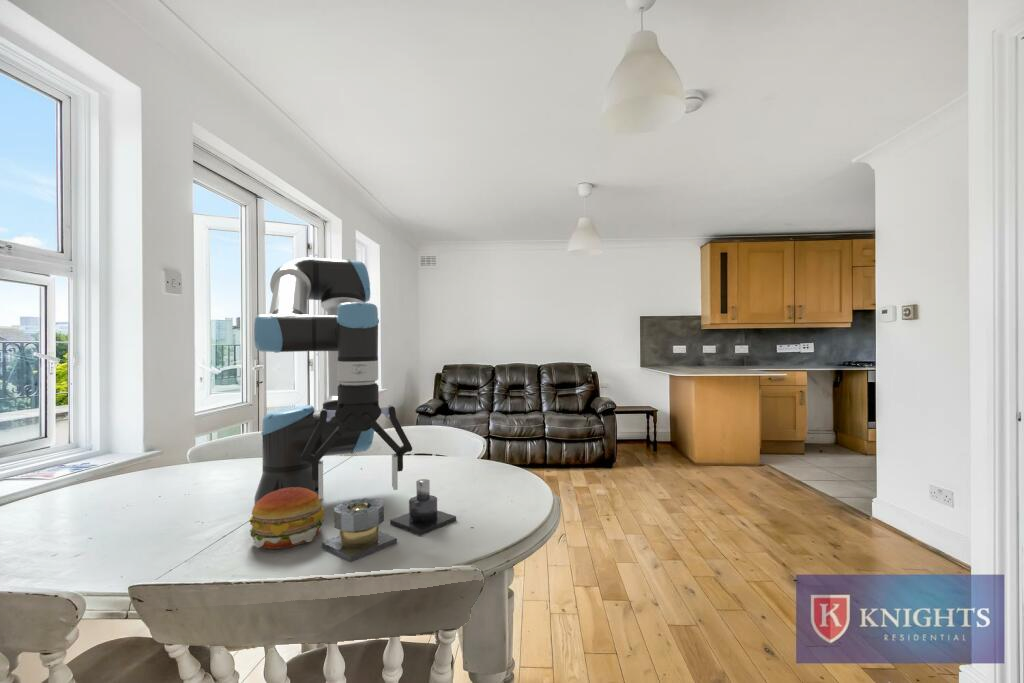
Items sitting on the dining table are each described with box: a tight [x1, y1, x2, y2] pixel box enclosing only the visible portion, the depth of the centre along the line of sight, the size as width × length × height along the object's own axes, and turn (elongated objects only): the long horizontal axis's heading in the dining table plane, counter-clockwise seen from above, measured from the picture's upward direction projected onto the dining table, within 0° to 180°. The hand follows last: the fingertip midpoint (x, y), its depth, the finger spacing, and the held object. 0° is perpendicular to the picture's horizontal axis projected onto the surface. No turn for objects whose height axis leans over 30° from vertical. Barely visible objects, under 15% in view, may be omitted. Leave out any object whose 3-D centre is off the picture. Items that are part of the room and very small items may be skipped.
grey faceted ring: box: [333, 497, 385, 531], centre depth 89 cm, size 9×9×3 cm
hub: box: [321, 506, 398, 563], centre depth 88 cm, size 10×10×7 cm
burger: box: [249, 487, 325, 550], centre depth 92 cm, size 13×14×10 cm
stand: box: [389, 478, 457, 537], centre depth 100 cm, size 10×10×9 cm
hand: (358, 492), depth 89 cm, fingers open, 13 cm apart
